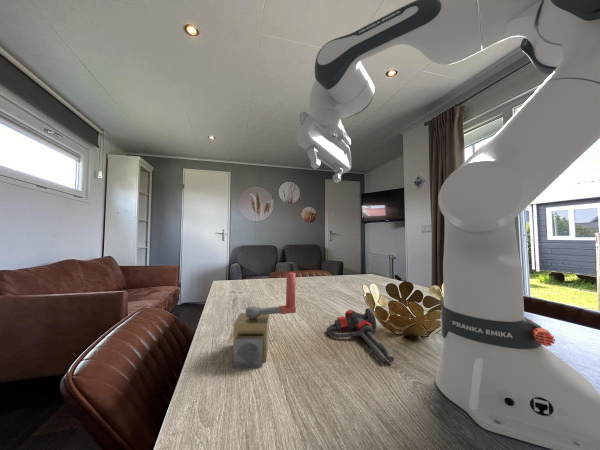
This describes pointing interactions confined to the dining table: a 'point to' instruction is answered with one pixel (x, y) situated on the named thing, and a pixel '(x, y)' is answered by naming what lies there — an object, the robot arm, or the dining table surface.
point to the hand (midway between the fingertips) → (326, 174)
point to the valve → (361, 330)
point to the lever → (285, 309)
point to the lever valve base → (250, 341)
